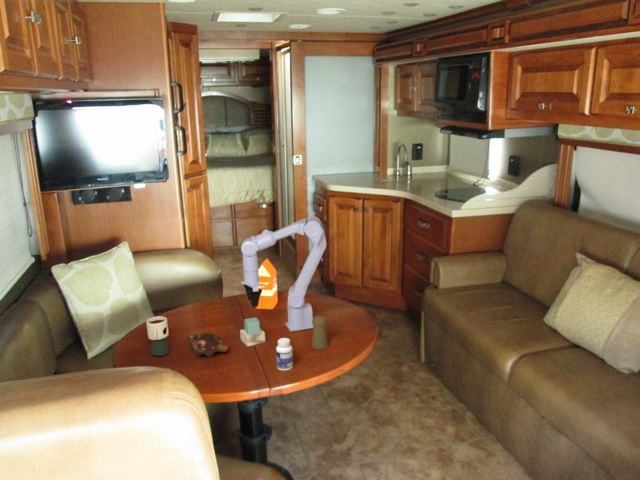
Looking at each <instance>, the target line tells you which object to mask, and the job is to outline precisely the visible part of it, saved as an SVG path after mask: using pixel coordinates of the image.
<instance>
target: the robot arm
mask: <svg viewBox="0 0 640 480" xmlns="http://www.w3.org/2000/svg"><path fill="white" fill-rule="evenodd" d="M295 234H298V235H301V236H305V235H306V237H308V238H309V239H310V241H311V242H312V247H311V249H310V251H309V254H308V255H307V258H306V260H305V262H304V264H303V267H302V268H301V271H300V272H299V275H298V277H297V279H296V280H295V281H294V284H293V285H292V286H290V288H289V289H288V297H287V304H286V305H287V321H286V322H285V323H284V325H285V327H287V329H288V330H289V332H295V331H301V330H306V329H307V330H308V329H314V326H313V324H312V319H313V318H314V315H313V313H314V312H313V308H312V304H311V303H309V302H305V296H306V293H307V290H308V286H309V285H310V282H311V281H312V278H313V275H314V274H315V272H316V269H317V267H318V265H319V263H320V261H321V259H322V257H323V255H324V252H325V251H326V248H327V245H328V244H327V239H326V234H325V229H324V225H323V223H322V221H321V220H320V218H319V217H318V216H313V215H311V216H308V217H305V218H302V219H300V220H297V221H294V222H293V223H290V224H289V225H286V226H284V227H282V228H280V229H277V230H275V231H272V230H263V231H262V233H260V234H258V235H252V236H251V237H247V238H245V239H244V240H243V242H242V244H241V247H240V251H241V253H242V266H243V267H242V270H243V280H242V281H241V282H240V283H241V285H242V286H243V287H244V289H245V292H246V296H247V300H248V301H250V303H251V306H252V308H256V307H258V304H259V298H260V295H261V293H262V289H258V285H259V283H260V280H259V257H258V252H261V251H263V250H265V249H267V248H271V247H272V246H275V245H276V243H277V241H278V240H282V239H284V238H287V237H289V236H292V235H295Z"/></svg>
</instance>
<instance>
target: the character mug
mask: <svg viewBox="0 0 640 480" xmlns="http://www.w3.org/2000/svg"><path fill="white" fill-rule="evenodd" d="M145 322H146V331H147V333H146V334H147V338H148V339H149V340H151V342H150V354H151V355H152V356H156V357H159V356H166V355H167V354H169V353H170V346H169V343H168V339H167V337H169V336H170V335H169V324H168V323H169V322H168V318H167V316H163V315H158V316H153V317H150V318H148V319H147V320H146V321H145Z"/></svg>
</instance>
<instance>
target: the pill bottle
mask: <svg viewBox="0 0 640 480" xmlns="http://www.w3.org/2000/svg"><path fill="white" fill-rule="evenodd" d="M275 354H276V368H277V369H278V370H279V371H282V372H283V371H284V372H285V371H290V370H292V368H294V358H293V346H292V345H291V339H290V338H288V337H281V338H279V339H278V340H277V346H276V347H275Z"/></svg>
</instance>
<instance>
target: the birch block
mask: <svg viewBox="0 0 640 480" xmlns="http://www.w3.org/2000/svg"><path fill="white" fill-rule="evenodd" d="M239 335H240V336H239V337H240V341H242V342H243V344H245V345H246V347H251V346H256V345H258V344H262V343H265V342H266V332H265V331H264V330H263V329H261V328H260V333H258V334H253V335H247V333H246V331H245V328H244V329H240V330H239Z"/></svg>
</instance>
